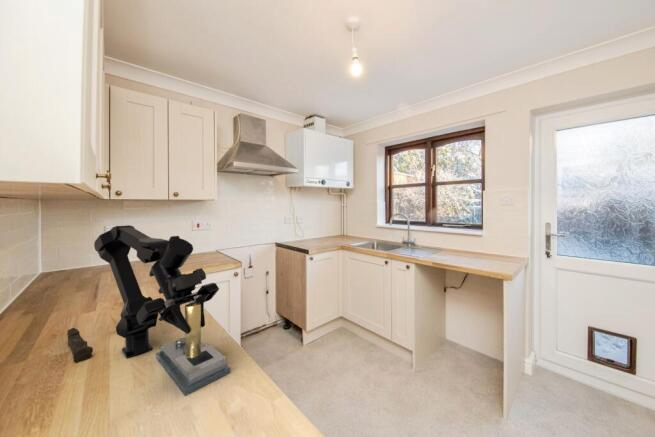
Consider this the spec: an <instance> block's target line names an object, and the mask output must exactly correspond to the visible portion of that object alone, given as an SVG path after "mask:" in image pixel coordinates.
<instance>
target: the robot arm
mask: <svg viewBox="0 0 655 437" xmlns="http://www.w3.org/2000/svg"><path fill="white" fill-rule="evenodd" d="M93 246H94V250H95V251H96V252H97V254H98V256H99V258H100V259H102V260H103V261H105V262H107V263H108V264H109V266H110V269H111V272H112V274H113V277H114V280H115V283H116V286H117V289H118V290H119V294H120V297H121V300H122V302H123V307H122V309H121V312H120V319H119V322H118V323H117V325H116V326H115V331H116V335H118V336H120V337H122V338H124V342H125V343H124V344H125V347H123V348H122V349H121V351H122V354H123V355H124V357H125V358H126V359H128V358H131V357H134V356H138V355H141V354H144V353H146V352H149V351H152V350H153V346H152V344H151V343H150V337H149V335H150V334H149V333H150V330H149V329H151V328H154V327H157V322H158V321H160V322H161V321H162V322H166V323H168V324H170V325H173V326H174V327H176V328H177V329H178V330H180V331H182V332H184V334H185V333H187V334H189V333H190V332H191V331H190V328H189V326H188V324H187V322H186V320H185V315H184V314H183V313H182V310H181V305H186V304H187V303H188V304H189V303H201V328H204V327H205V326H206V320H205V310H204V308H205V306H204V304H205V303H207V302H208V301H210V300H212V299H213V298H214V296H215V295H216V294H217V293H218V292H219V290H220V288H219V286H218V285H217V283H216V282H211V283H206V284H204V285H202V281H204V280H206V278H207V274H206V272H205V271H204V269H203V268H202V267H201V268H196V269H195V270H193V271H192V272H190V273H187V274H186V273H182V272H181V270H180V268H181V267H183V266H184V264H185V263H186V262H187V260H188V259H189V257H190V256H191V254H192V253H193V251H194V246H193V244H191V243H190V242H189V241H188V240H186V239H183V238H181V237H180V236H179V235H172V236H170V237H169V239H163V238H157V237H156V238H154V237H151V236H148V235H147V234H145V233H143V232H141V231H140V230H138V229H137V228H135V226H133V225H132V224H131V225H129V224H127V225H115V226H112V227H111V229H110V230H108V231H106V232H103V233H101V234H100V235H99V236H98V237H97V238H96V239H95V241H94V243H93ZM131 248H132V249H133V250H134V251H136V257H137V258H138V259H139V260H140V262H142V263H143V264H150V263H154V264H153V265H152V266H151V269H150V271H149V272H148V273H149V277H154V278H155V281H156V282H157V285H158V287H159V289H158V290H157V291H158V294H160V295H161V294H162V295H163V296H164V298H162V297H159V298H155V299H153V298H152V297H151V296H148V297H146V296H144V295H143V293H142V290H141V288H140V285H139V282H138V280H137V277H136V275H135V271H134V269H133V267H132V264H131V262H130V259H129V256H128V255H130V254H129V253H130V251H131ZM197 285H201V286H200V288H198V290H197V291H195V290H196V288H197V287H196V286H197ZM194 291H195V292H194ZM164 299H165V300H164ZM159 315H160V316H159Z"/></svg>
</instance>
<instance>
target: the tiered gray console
mask: <svg viewBox="0 0 655 437" xmlns="http://www.w3.org/2000/svg"><path fill="white" fill-rule="evenodd" d="M155 359H156V361H158V363H159V364H160V365H161V366H162V368H163V369H164V371H165V373H166V374H167V375H168V376H169V377H170V379H171V380H172V381H173V382H174V384H175V385H176V386H177V388H178V389H179V391H180V392H181V393H182V394H183V396H184V397H186V396H188V395H190V394H191V393H193V392H195V391H197V390H199V389H201V388H203V387H205V386H207V385H210V384H211V383H213V382H215V381H217V380H219V379H220V378H223V377H225V376H227V375H229V374H230V373H231V367H230V366H229V365H228V364H227V357H226V356H224V355H223V354H222V353H221V352H219V351H218V349H216V348H215V347H214V346H212V345H211V344H209V345H205V344H203V342H201V354H200V355H198V356H196V357H194V358H187V357H186V356H185V337H180V338H178V339H175V341H172V342H169V343H167V344H164V345H162V346H161V345H160V346H159V352H155Z"/></svg>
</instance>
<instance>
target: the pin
mask: <svg viewBox="0 0 655 437" xmlns="http://www.w3.org/2000/svg"><path fill="white" fill-rule="evenodd" d="M184 305H185V306H184V318H185V320H186V322H187V324H188V326H189V328H190V331H191V332H190V333H189V334H187V333H185V332H184V336H185V337H184V338H185V356H186V357H187V358H194V357H196V356H198V355H200V354H201V343H202V327H201V303H189V302H188V304H187V303H186V304H184Z"/></svg>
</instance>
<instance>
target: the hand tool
mask: <svg viewBox="0 0 655 437" xmlns="http://www.w3.org/2000/svg"><path fill="white" fill-rule="evenodd" d="M66 335H67V341H68V342H67V346H68V347H69V348H70V351H71V352H72V356H73V361H72V362H74V363H75V364H78V363H82V362H84V361H87V360H89V359H91V357H92V355H93V350H94V348H93V347H92V346H91V345H90V346H89V345H88V341H87V340H85V339H83V337H82V336H81V334H80V331H79V329H78V328H75V327H72V328H70V329H68V330H67V333H66Z"/></svg>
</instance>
